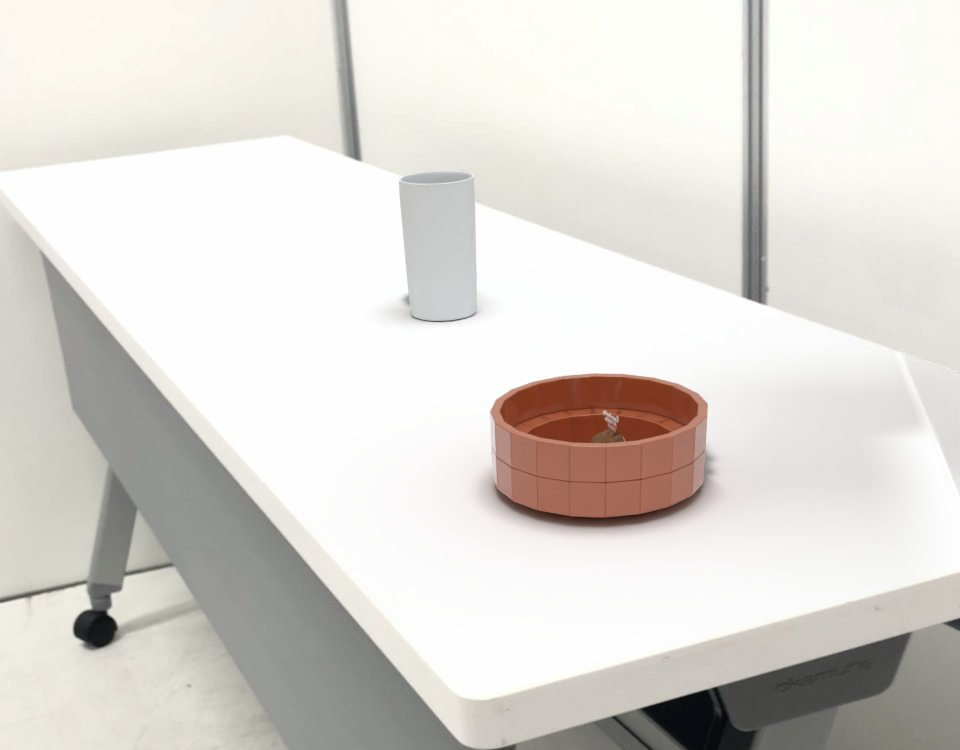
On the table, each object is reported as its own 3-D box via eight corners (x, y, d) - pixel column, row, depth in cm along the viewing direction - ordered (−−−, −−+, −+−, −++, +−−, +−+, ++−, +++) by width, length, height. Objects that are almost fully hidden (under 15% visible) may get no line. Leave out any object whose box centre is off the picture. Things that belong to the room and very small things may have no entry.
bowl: (705, 447, 81) (709, 374, 79) (701, 530, 70) (705, 449, 68) (511, 442, 84) (509, 371, 81) (477, 522, 72) (473, 443, 70)
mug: (467, 323, 110) (461, 184, 104) (397, 321, 111) (387, 183, 105) (497, 295, 118) (493, 164, 112) (432, 293, 120) (424, 164, 114)
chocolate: (576, 469, 77) (575, 409, 75) (606, 462, 78) (607, 402, 76) (599, 485, 75) (599, 423, 73) (630, 478, 76) (631, 416, 74)
